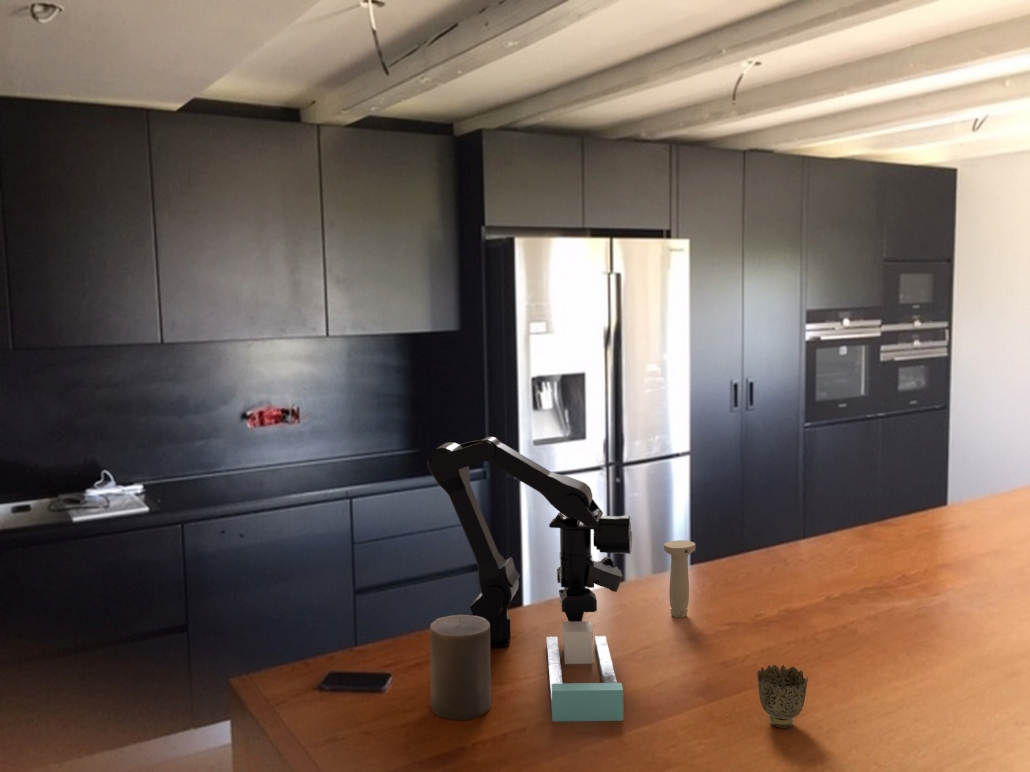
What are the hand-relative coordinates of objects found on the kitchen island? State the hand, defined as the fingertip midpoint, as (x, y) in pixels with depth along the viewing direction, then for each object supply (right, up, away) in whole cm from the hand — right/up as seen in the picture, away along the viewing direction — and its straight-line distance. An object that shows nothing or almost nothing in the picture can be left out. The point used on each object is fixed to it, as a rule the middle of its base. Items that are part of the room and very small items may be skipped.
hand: (576, 631), depth 166 cm
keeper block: (0, -4, -4) cm, 6 cm away
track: (0, -5, -13) cm, 14 cm away
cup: (+29, -6, -29) cm, 42 cm away
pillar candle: (-20, -6, -22) cm, 30 cm away
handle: (+22, -1, +15) cm, 27 cm away
